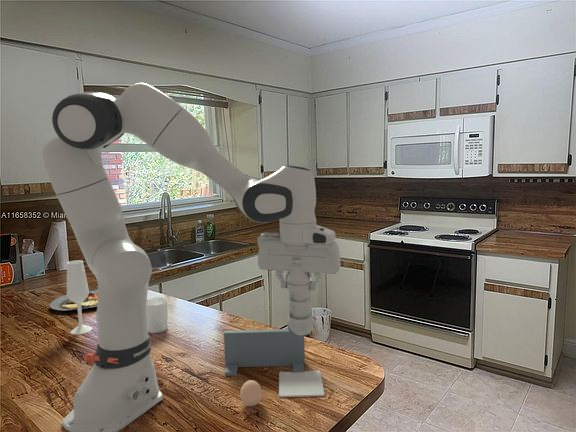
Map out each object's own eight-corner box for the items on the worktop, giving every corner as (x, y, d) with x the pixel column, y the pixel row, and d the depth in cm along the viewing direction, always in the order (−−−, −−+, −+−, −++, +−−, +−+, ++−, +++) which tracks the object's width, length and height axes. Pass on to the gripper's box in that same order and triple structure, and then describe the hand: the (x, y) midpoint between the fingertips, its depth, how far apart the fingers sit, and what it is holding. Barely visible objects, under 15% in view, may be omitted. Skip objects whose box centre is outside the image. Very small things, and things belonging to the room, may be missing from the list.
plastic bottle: (296, 324, 107) (293, 251, 102) (318, 330, 103) (316, 255, 98) (282, 334, 101) (278, 258, 97) (304, 341, 98) (302, 262, 93)
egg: (245, 396, 98) (244, 374, 97) (265, 400, 97) (264, 377, 96) (237, 409, 93) (236, 385, 92) (257, 413, 92) (257, 388, 91)
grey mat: (324, 396, 98) (324, 394, 98) (279, 397, 98) (278, 395, 97) (320, 372, 109) (320, 370, 109) (279, 373, 108) (279, 371, 108)
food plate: (121, 290, 181) (120, 282, 180) (116, 308, 159) (115, 300, 158) (58, 298, 173) (57, 290, 173) (44, 319, 151) (43, 310, 151)
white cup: (173, 328, 139) (171, 300, 137) (152, 336, 133) (150, 307, 132) (161, 322, 144) (159, 295, 143) (140, 329, 138) (138, 301, 137)
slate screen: (305, 373, 108) (305, 338, 107) (223, 375, 108) (221, 340, 106) (304, 362, 114) (303, 328, 113) (226, 364, 114) (224, 330, 112)
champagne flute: (83, 335, 135) (76, 265, 131) (65, 333, 136) (58, 264, 133) (96, 326, 141) (90, 259, 138) (79, 325, 143) (73, 259, 139)
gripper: (252, 234, 97) (254, 289, 99) (337, 237, 92) (337, 295, 94) (261, 229, 103) (263, 282, 105) (341, 232, 98) (341, 287, 100)
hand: (299, 288), depth 99 cm, fingers closed on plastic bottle, 6 cm apart
